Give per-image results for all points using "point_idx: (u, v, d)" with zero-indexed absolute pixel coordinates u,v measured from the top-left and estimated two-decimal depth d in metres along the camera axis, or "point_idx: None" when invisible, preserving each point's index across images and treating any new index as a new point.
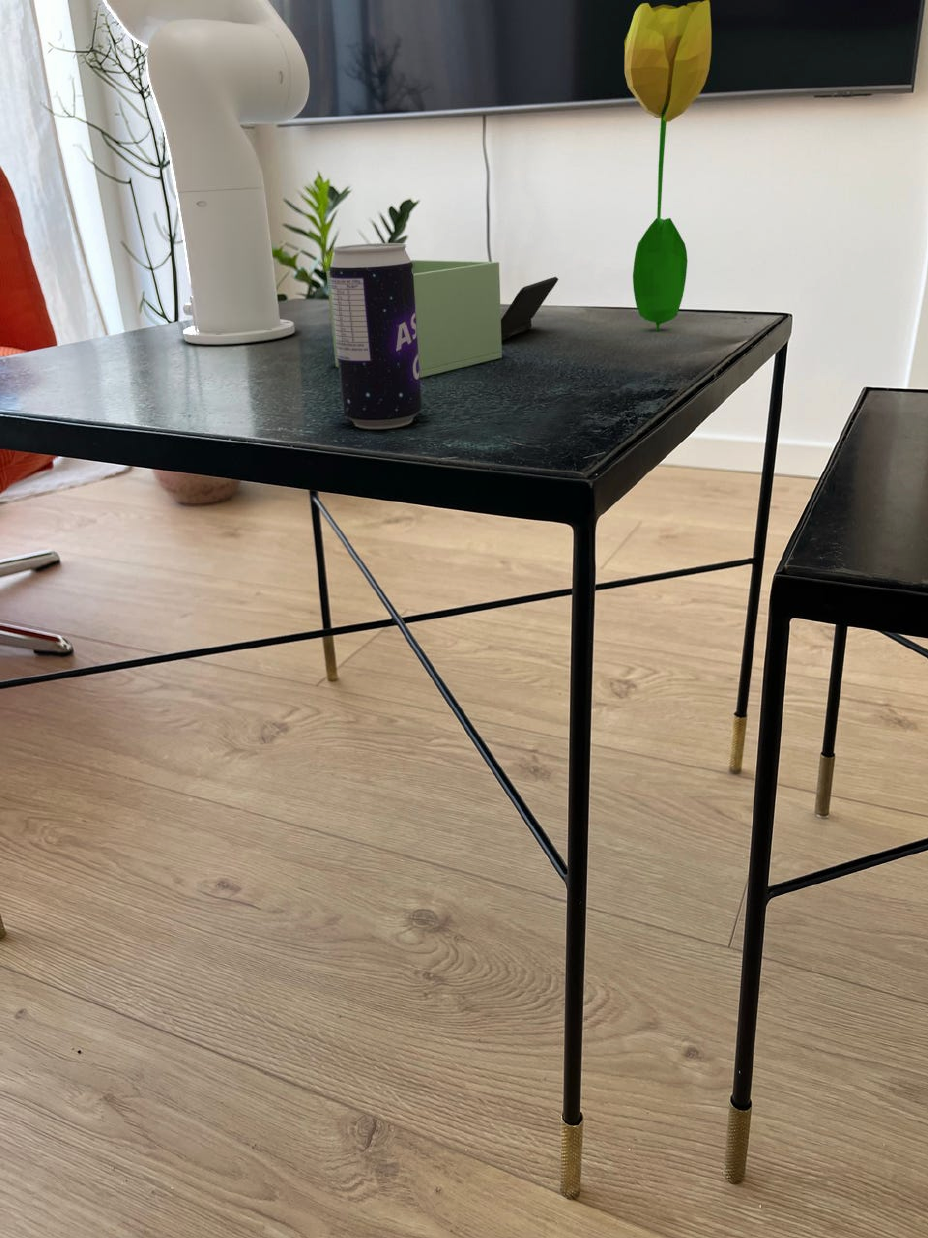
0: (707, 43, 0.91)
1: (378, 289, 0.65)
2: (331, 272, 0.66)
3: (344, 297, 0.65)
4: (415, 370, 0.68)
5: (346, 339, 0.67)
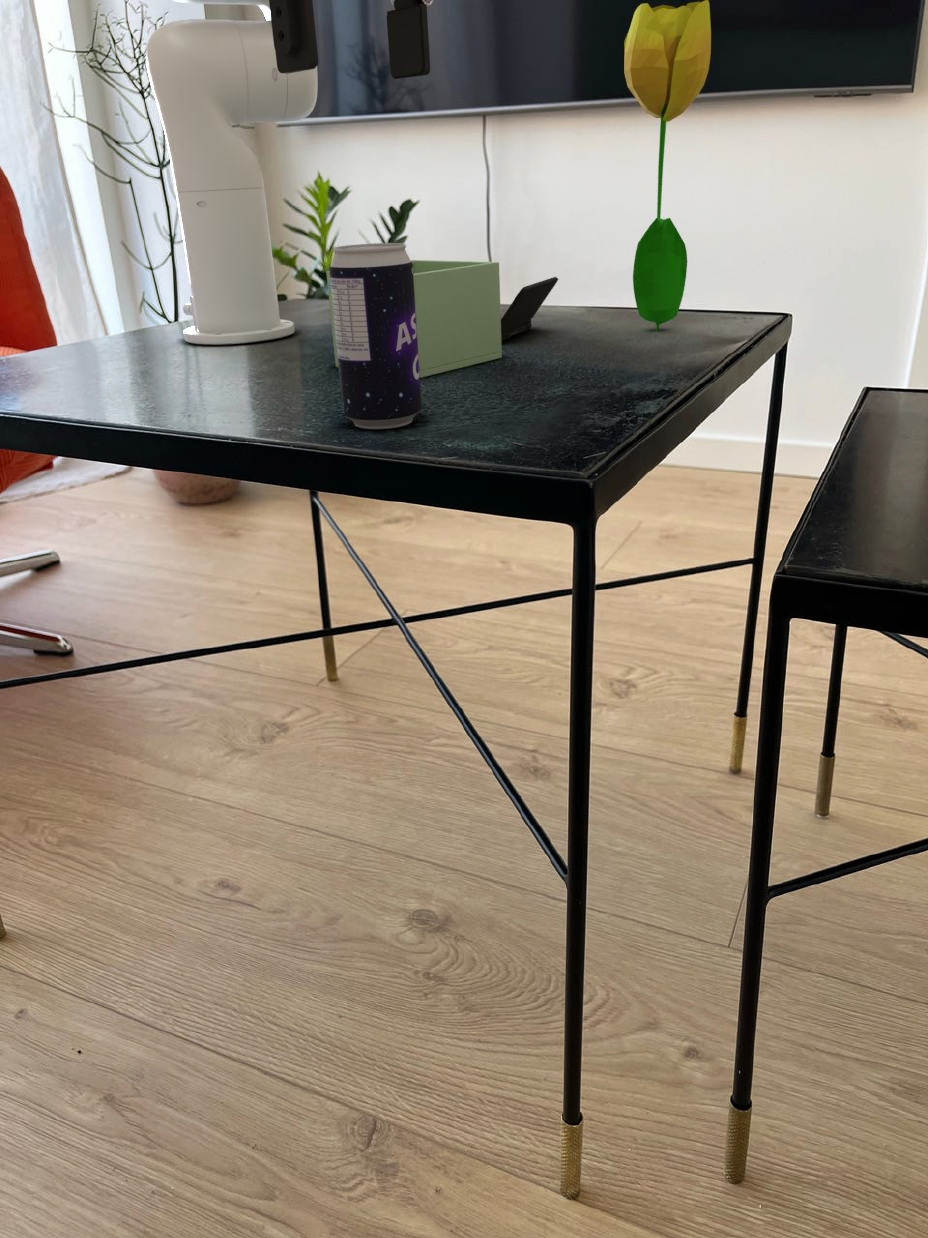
0: (707, 43, 0.91)
1: (378, 289, 0.65)
2: (331, 272, 0.66)
3: (344, 297, 0.65)
4: (415, 370, 0.68)
5: (346, 339, 0.67)
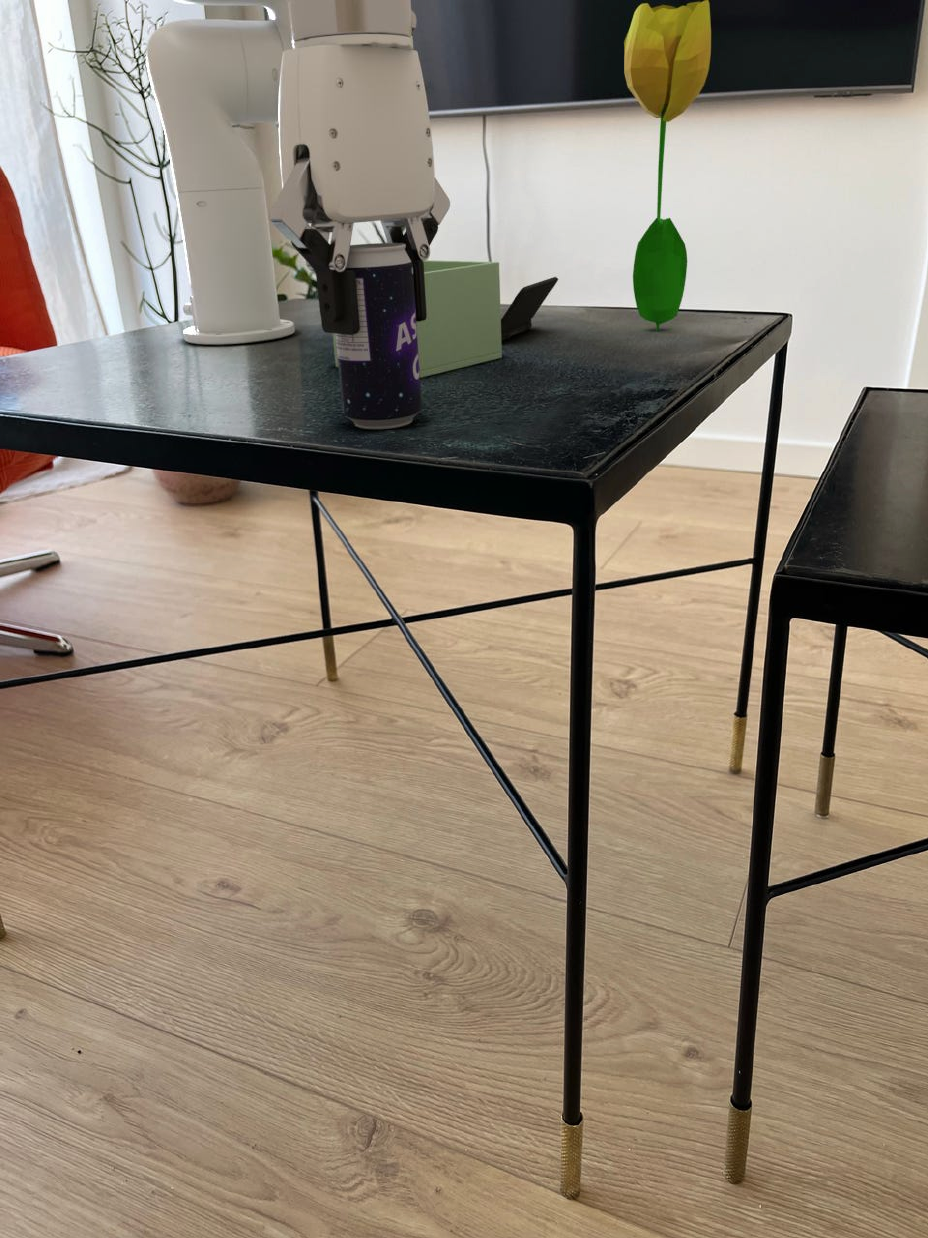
0: (707, 43, 0.91)
1: (378, 288, 0.65)
2: None
3: None
4: (415, 370, 0.68)
5: (346, 340, 0.67)
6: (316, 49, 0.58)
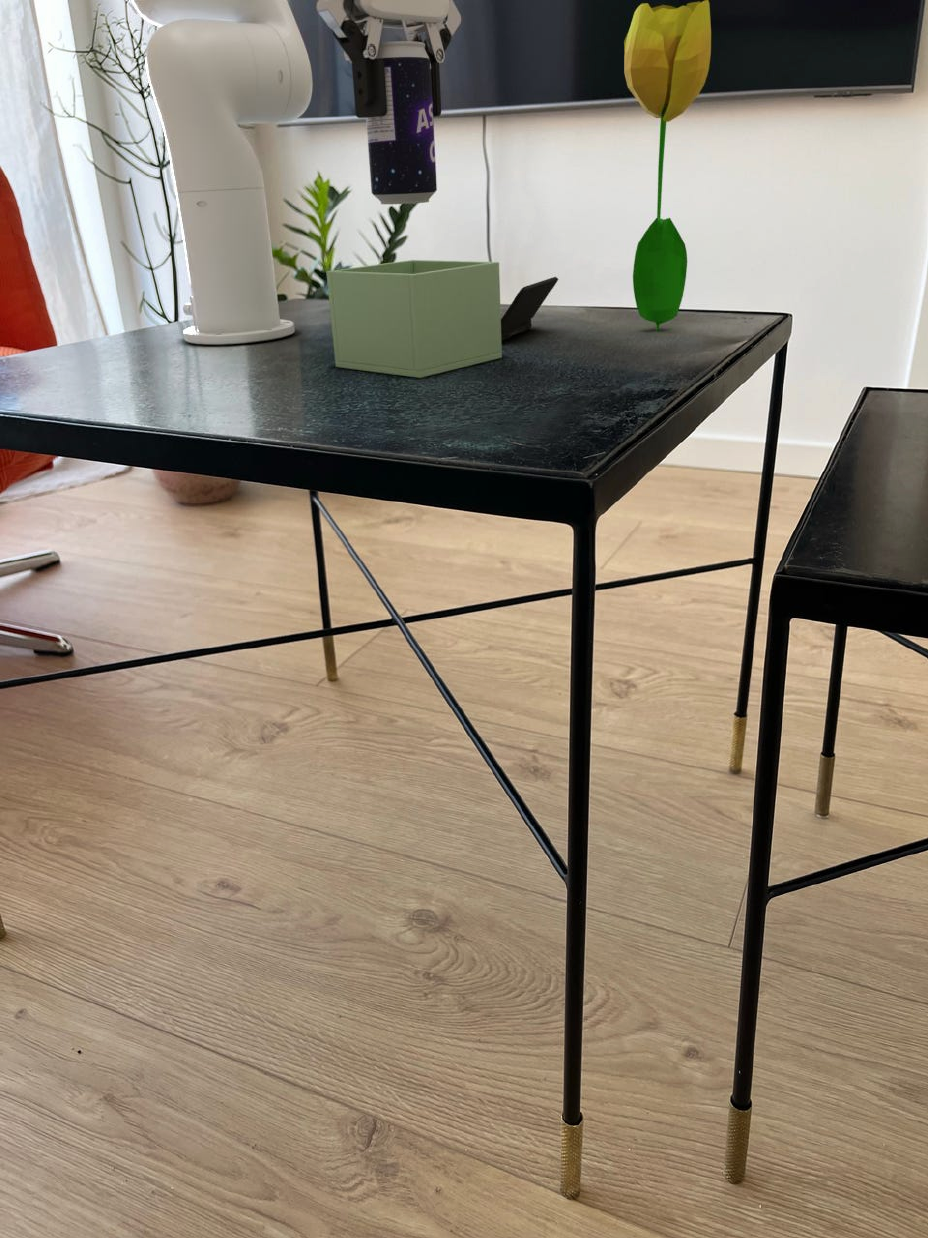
0: (707, 43, 0.91)
1: (403, 76, 0.79)
2: None
3: None
4: (432, 153, 0.83)
5: (376, 123, 0.81)
6: None
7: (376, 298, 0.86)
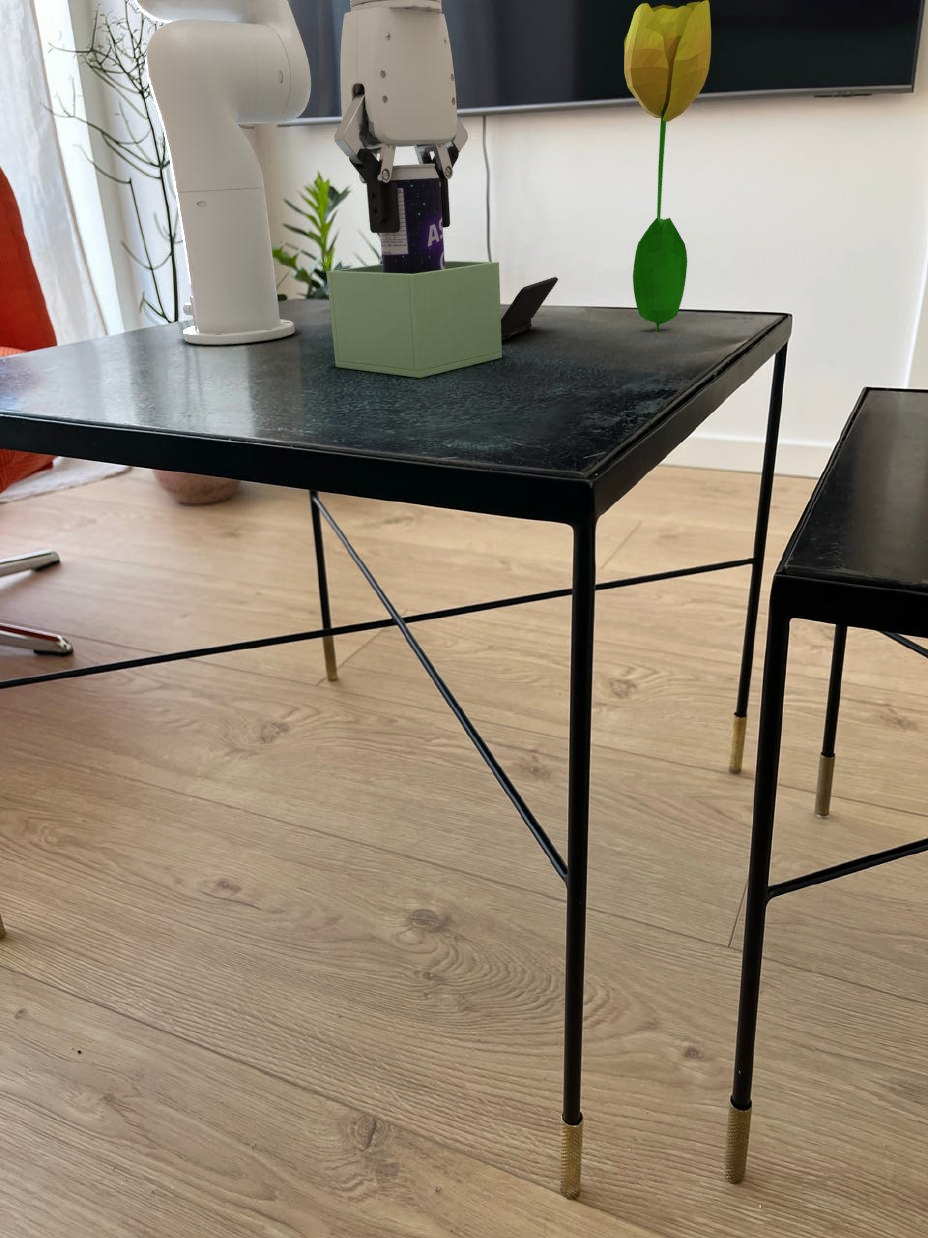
0: (707, 43, 0.91)
1: (415, 196, 0.84)
2: None
3: None
4: (442, 263, 0.88)
5: (389, 238, 0.86)
6: (371, 10, 0.78)
7: (376, 298, 0.86)
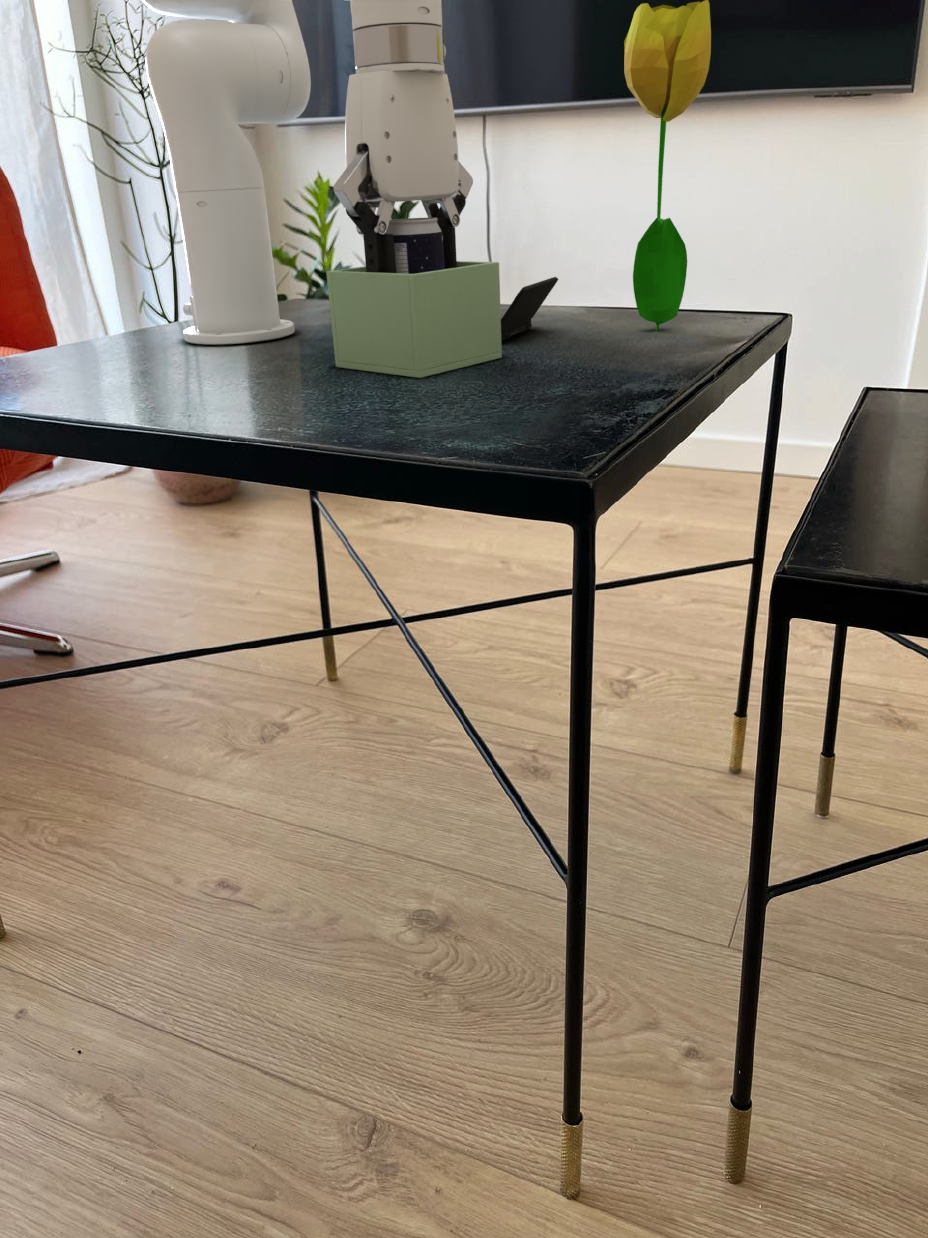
0: (707, 43, 0.91)
1: (418, 251, 0.86)
2: None
3: None
4: None
5: None
6: (375, 74, 0.80)
7: (376, 298, 0.86)
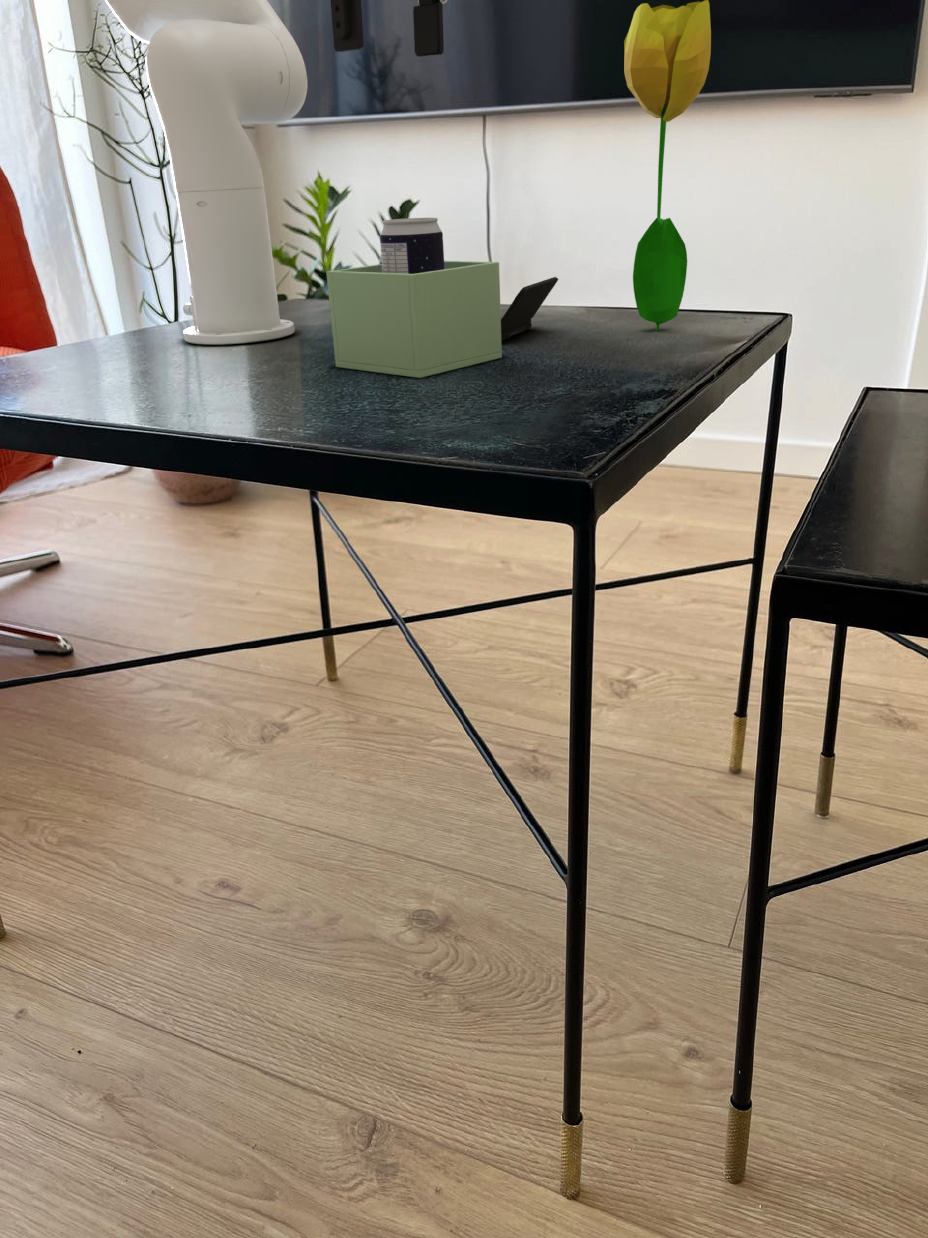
0: (707, 43, 0.91)
1: (418, 251, 0.86)
2: (382, 239, 0.87)
3: (391, 257, 0.87)
4: None
5: None
6: None
7: (376, 298, 0.86)
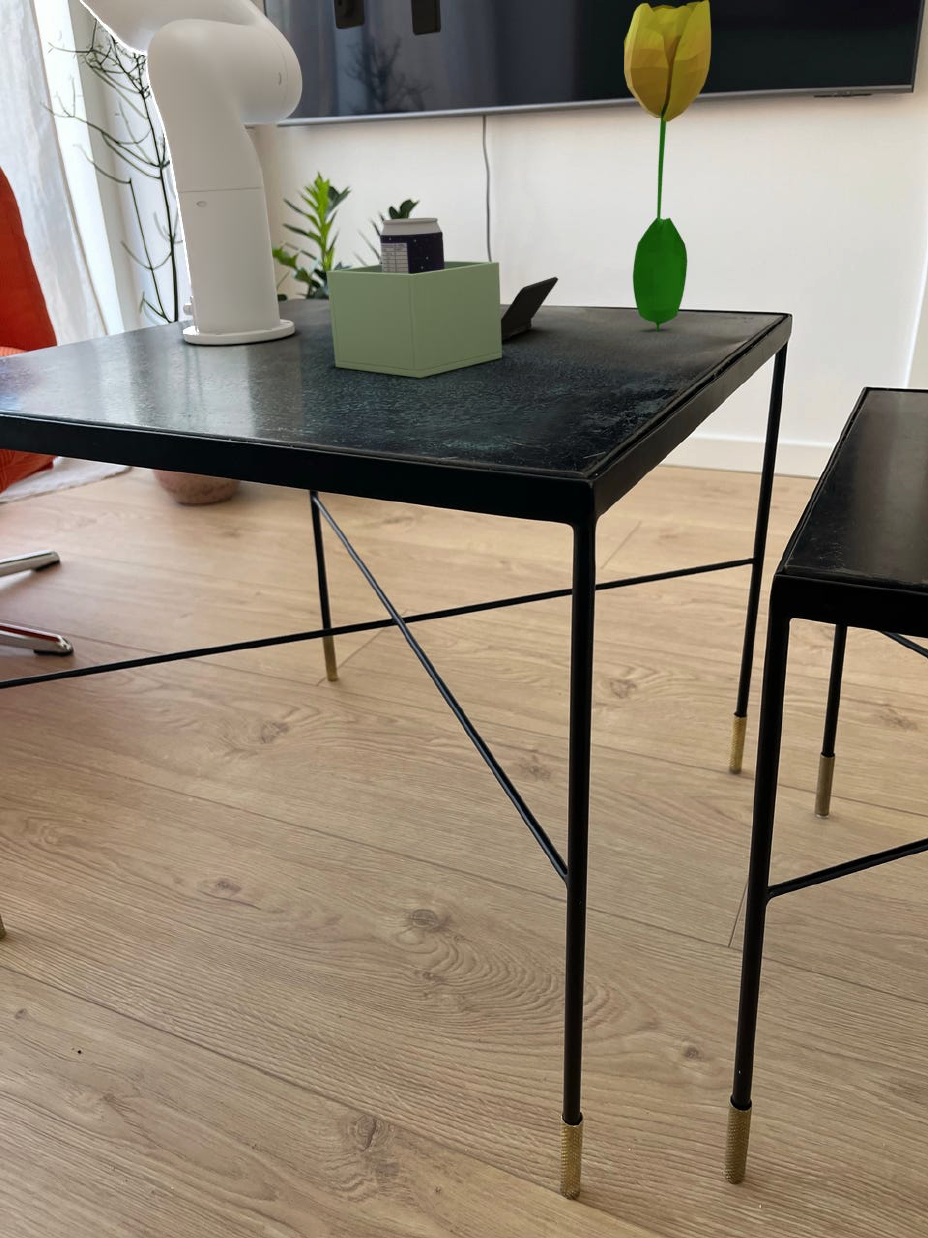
0: (707, 43, 0.91)
1: (418, 251, 0.86)
2: (382, 239, 0.87)
3: (391, 257, 0.87)
4: None
5: None
6: None
7: (376, 298, 0.86)
